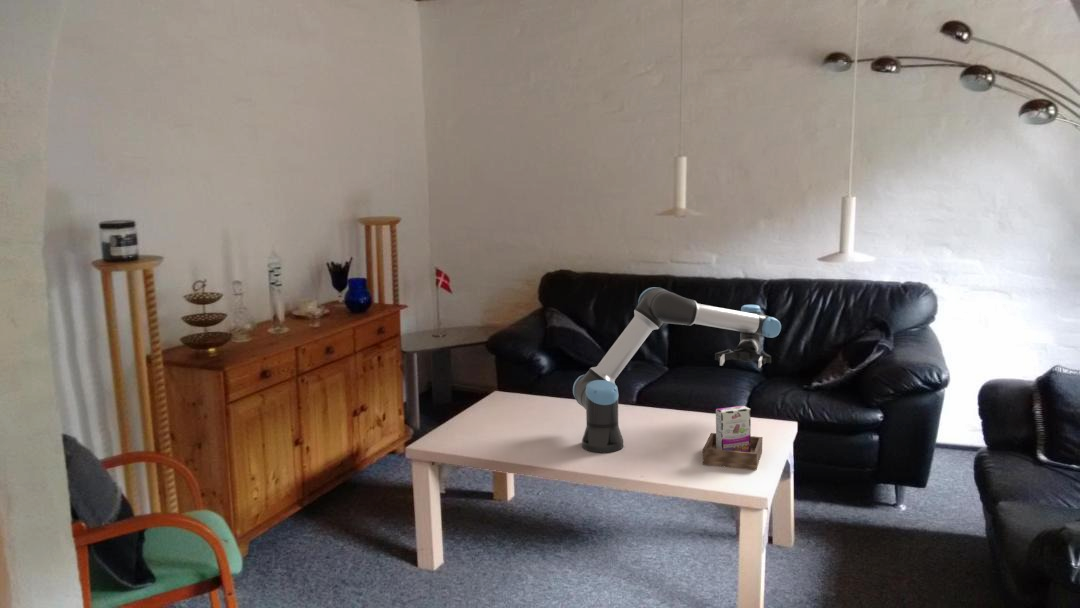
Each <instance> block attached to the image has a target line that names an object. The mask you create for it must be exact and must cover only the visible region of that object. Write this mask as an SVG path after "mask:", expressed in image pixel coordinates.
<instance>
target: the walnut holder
mask: <svg viewBox="0 0 1080 608" xmlns="http://www.w3.org/2000/svg"><path fill="white" fill-rule="evenodd" d="M750 437H751V451H750V452H740V451H729V450H718V449H716V432H710V435H709V437H708V438H707V440H706V442H705V444H704V446H703V448H702V465H704V466H713V465H714V467H715V466H716V467H724V466H725V467H726V468H736V469H747V470H754V469H756V470H755V471H757V470H758V467H759V463H760V461H761V457H762V453H763V436H755V435H754V436H752V435H751V436H750ZM759 460H760V461H759ZM725 467H724V468H725Z"/></svg>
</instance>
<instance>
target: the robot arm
mask: <svg viewBox="0 0 1080 608" xmlns="http://www.w3.org/2000/svg"><path fill="white" fill-rule="evenodd" d="M637 301H638V303H637V305H636V307H635V309H634V311H633V312H634V313H633V314H634V316H633V318H632V319H631V320H630V322H629V323H628V325H627V326H626V327H625V328H624V330H623V331H622V332H621V334H620V335H619V336H618V337H617V339H616V340H615V341H614V343H613V344H612V346H611V347H610V348H609V349H608V351H607V352H606V354H605V355H603V357H602V359H601V360H600V362H598V364H597V366H592V367H590V368H589V369H588V371H587V372H586V373H584V374H582V375H579V376H578V377H577V378H576V379H575V381H574V383H573V386H572V394H573V397H574V399H575V401H576V402H577V403H578V404H579V405H580V406H581V407H583V408H584V409H585V412H586V414H585V415H586V418H585V419H586V425H585V430H584V432H583V433H584V434H583V436H582V439H581V447H582V448H583V449H584V450H585V451H589V452H592V453H599V454H600V453H604V454H605V453H614V452H616V451H620V450H621V449H623V448H624V438H623V435H622V432H621V429H620V427H619V390H618V386H617V385H616V383H615V381H616V379H617V378H618V377H619V375H620V374H621V373H622V371H623V370H624V369H625V368H626V366H627V365H628V363H629V362H630V361H631V359H632V358H633V357H634V356H635V354H636V353H637V352H638V350H639V349H640V347H642V344H643V343H644V342H645V341H646V339H647V338H648V337H649V336H650V334H651V333H652V331H654V330H659V329H660V328H661V326H662V325H663V324H673V325H682V326H684V325H685V326H692V325H694V324H695V325H701V326H706V327H710V328H711V327H712V328H718V329H723V330H730V331H736V332H740V341H739V344H738V345H737V347H736V349H733V350H731V349H730V348H727V349H726V350H721V351H718V352H715V353H714V361H718V362H719V366H724V364H725V361H730V360H737V361H738V360H740V361H741V362H746V363H747V362H748V363H749V362H751V361H756V362H758V363H757V364H758V367H757V368H758V369H761V368H762V366H763V365H766V363H767V364H771V363H772V356H771V355H770V354H768V353H767V352H765V350H760V349H761V346H762V340H761V336H764V338H765V337H766V338H772V339H773V338H776V337H777V336H779V334H780V332H781V330H782V324H781V321H780V320H778V319H777V318H776V317H774V316H769V315H766V314H764V313H762V310H761V306H760V305H757V304H744V305H742V306H741V308H740V310H737V309H736V310H735V309H730V308H724V307H718V306H715V305H714V306H713V305H709V304H701V303H698V302H697V301H696V300H694V299H690V298H687V297H683V296H681V295H679V294H677V293H675V292H672V291H668V290H667V289H665V288H662V287H648V288H646V289H645V290H643V291H642V293H641V294H640V295H639V297H638V300H637ZM759 350H760V351H759ZM758 351H759V352H758Z"/></svg>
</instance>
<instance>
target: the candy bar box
mask: <svg viewBox="0 0 1080 608" xmlns="http://www.w3.org/2000/svg"><path fill="white" fill-rule="evenodd" d="M751 413H752V411H751V408H749V407H748V406H746V405H737V406H730V407H722V408H716V409H715V433H716V449H718V450H729V451H740V452H750V451H751V437H750V436H752V435H751V425H752V424H751V415H752V414H751Z"/></svg>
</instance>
